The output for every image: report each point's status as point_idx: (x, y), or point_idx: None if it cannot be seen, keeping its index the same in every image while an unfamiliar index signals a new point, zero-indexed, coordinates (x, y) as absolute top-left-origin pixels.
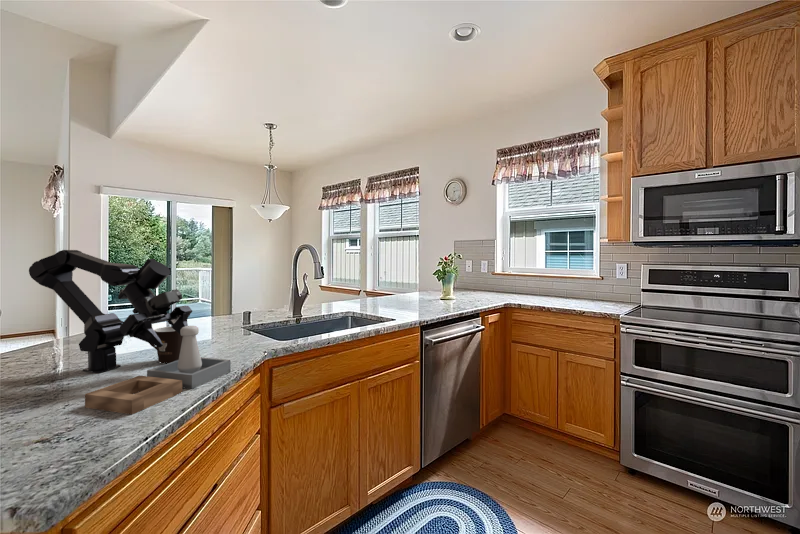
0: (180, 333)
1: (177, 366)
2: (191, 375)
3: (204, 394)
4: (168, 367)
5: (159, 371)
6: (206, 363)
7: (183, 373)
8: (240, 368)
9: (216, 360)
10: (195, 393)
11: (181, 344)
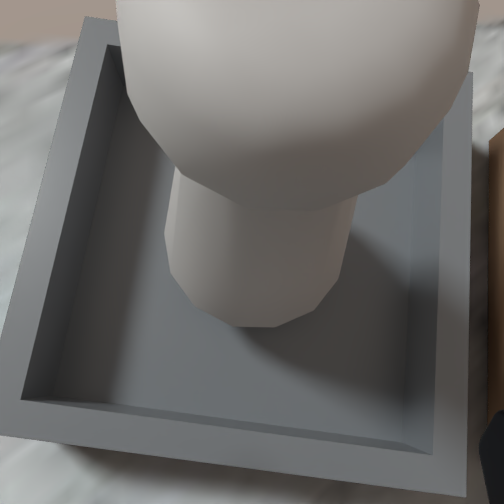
0: (395, 172)
1: (315, 307)
2: (470, 77)
3: (479, 22)
4: (274, 429)
5: (464, 358)
6: (79, 225)
7: (456, 147)
8: (26, 55)
9: (90, 120)
10: (480, 70)
11: (330, 232)
